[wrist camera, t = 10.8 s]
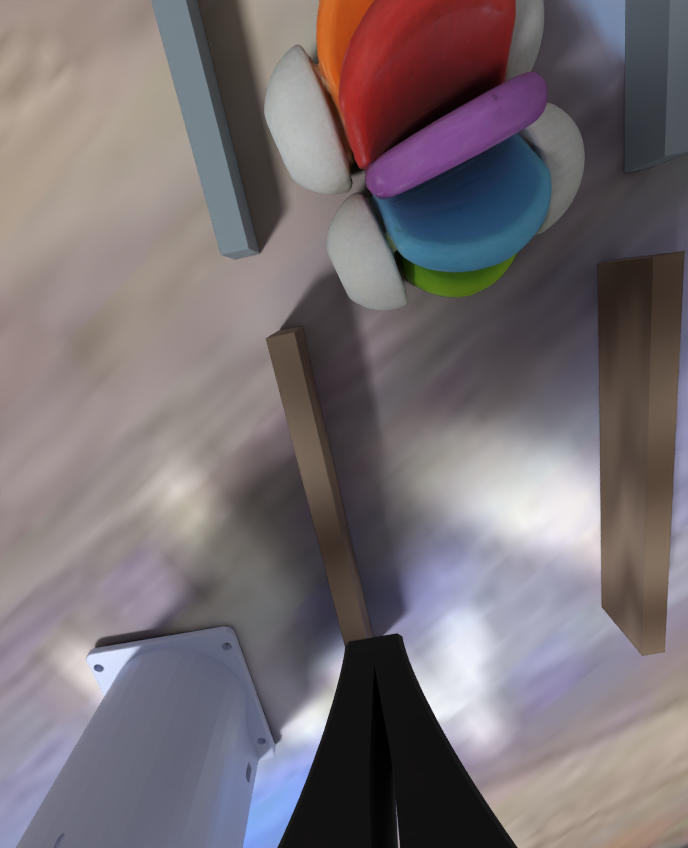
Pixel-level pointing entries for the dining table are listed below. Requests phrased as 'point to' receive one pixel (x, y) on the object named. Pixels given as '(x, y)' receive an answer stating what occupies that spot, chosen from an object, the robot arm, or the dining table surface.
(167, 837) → the robot arm
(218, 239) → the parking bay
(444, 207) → the multicolored rounded disc cluster
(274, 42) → the dining table surface
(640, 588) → the lane rails
